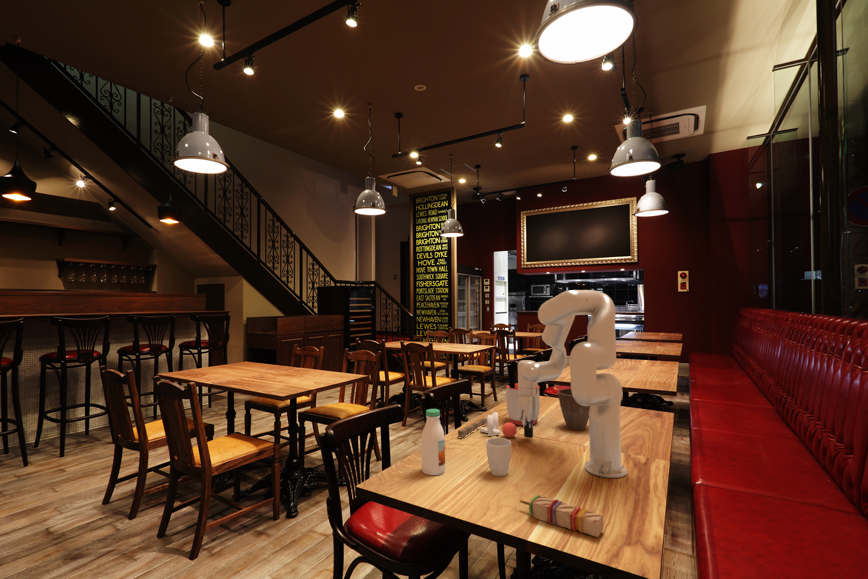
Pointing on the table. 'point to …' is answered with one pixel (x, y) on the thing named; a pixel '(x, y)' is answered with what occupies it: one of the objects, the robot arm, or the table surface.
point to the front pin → (495, 431)
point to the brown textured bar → (471, 427)
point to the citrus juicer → (513, 404)
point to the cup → (498, 455)
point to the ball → (509, 429)
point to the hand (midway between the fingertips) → (528, 437)
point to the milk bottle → (433, 444)
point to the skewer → (565, 515)
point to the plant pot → (573, 411)
